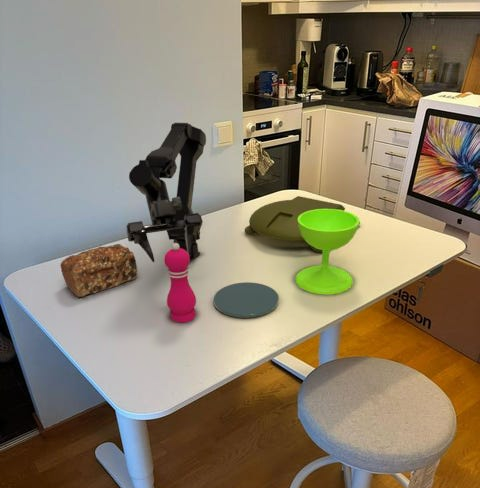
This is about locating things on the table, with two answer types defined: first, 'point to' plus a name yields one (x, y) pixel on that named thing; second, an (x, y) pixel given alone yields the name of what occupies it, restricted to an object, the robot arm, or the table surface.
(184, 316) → the pepper mill
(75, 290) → the bread
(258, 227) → the spaceship
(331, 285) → the wineglass
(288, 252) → the table surface
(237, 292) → the plate
